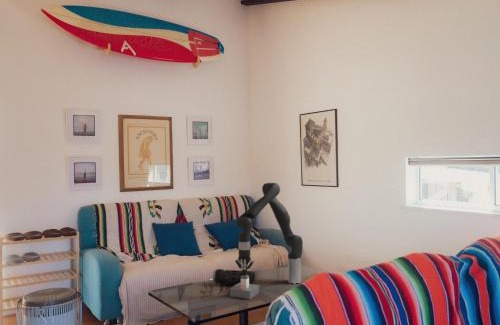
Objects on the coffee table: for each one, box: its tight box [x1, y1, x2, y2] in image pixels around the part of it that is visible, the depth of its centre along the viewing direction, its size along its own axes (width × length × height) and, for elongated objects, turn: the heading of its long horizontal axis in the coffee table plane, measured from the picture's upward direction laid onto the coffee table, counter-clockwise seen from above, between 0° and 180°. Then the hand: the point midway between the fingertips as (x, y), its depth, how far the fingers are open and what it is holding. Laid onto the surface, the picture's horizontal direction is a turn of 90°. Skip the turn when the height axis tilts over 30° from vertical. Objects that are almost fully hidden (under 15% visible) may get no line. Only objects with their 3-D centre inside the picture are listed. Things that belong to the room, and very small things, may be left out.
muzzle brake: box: [212, 268, 256, 286], centre depth 300 cm, size 10×28×10 cm, turn 78°
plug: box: [241, 275, 249, 288], centre depth 278 cm, size 4×4×11 cm
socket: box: [229, 283, 260, 300], centre depth 278 cm, size 14×14×6 cm
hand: (244, 275), depth 278 cm, fingers closed
